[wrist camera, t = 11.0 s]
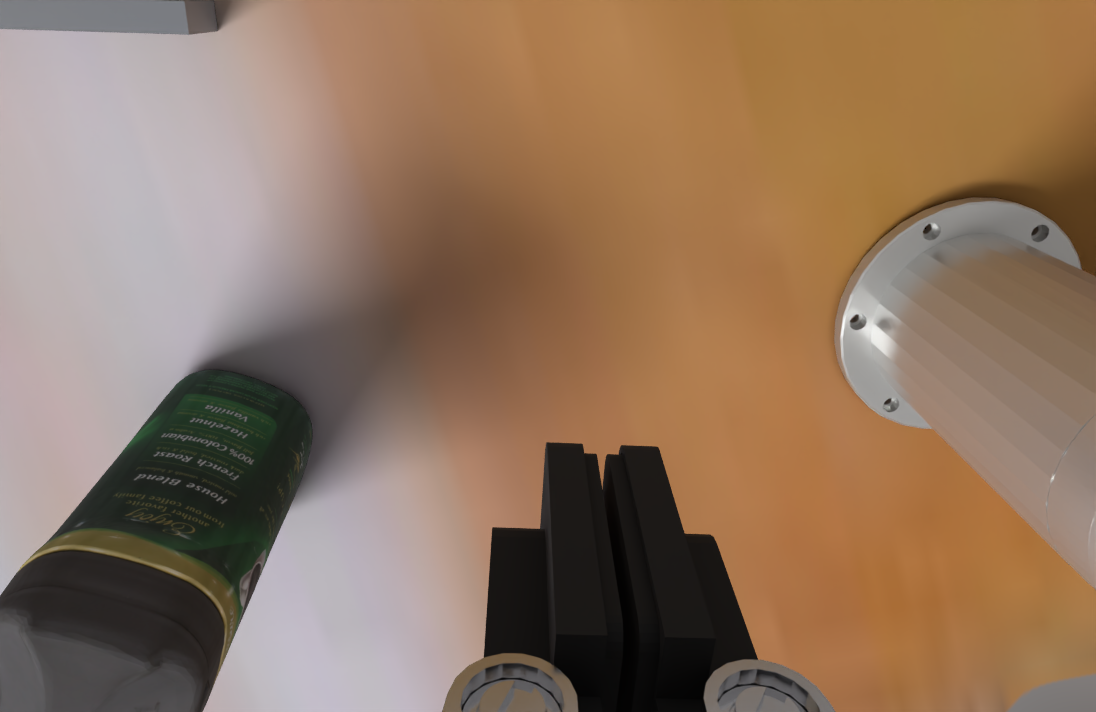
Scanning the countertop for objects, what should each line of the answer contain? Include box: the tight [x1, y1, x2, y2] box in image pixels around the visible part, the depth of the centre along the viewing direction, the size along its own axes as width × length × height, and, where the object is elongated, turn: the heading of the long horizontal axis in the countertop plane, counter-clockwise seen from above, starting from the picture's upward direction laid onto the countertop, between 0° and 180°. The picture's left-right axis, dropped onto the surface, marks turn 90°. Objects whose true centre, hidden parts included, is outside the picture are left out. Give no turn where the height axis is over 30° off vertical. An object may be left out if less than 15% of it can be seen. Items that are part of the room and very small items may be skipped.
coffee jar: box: [0, 370, 312, 712], centre depth 34 cm, size 10×8×19 cm
